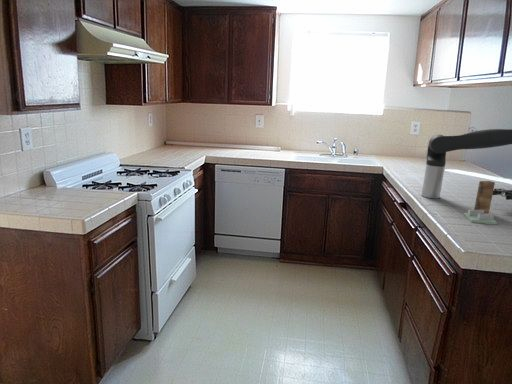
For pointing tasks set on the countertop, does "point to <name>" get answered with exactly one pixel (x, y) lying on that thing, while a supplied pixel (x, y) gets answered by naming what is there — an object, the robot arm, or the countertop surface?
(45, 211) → the countertop surface
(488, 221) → the hinge base
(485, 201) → the door
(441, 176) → the robot arm
